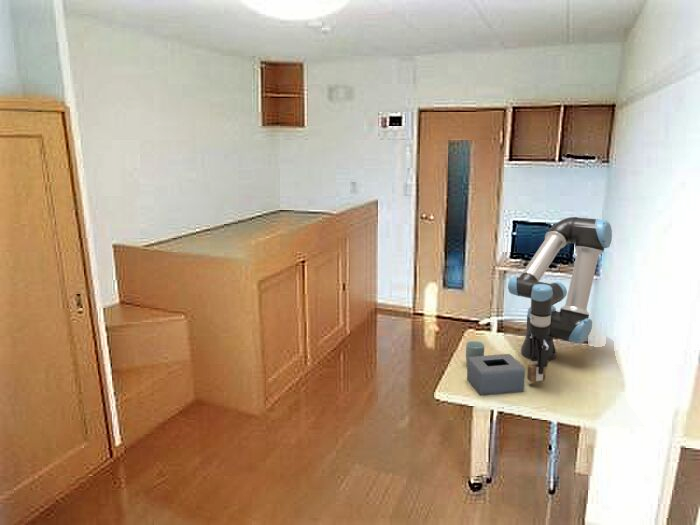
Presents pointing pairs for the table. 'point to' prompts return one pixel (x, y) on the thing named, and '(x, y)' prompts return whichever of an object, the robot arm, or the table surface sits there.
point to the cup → (474, 349)
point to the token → (534, 373)
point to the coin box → (495, 374)
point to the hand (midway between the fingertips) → (536, 378)
